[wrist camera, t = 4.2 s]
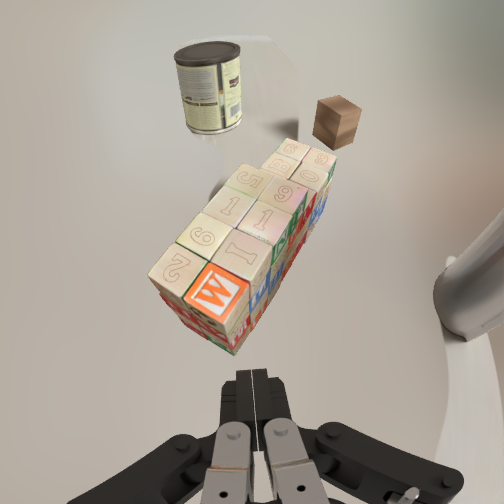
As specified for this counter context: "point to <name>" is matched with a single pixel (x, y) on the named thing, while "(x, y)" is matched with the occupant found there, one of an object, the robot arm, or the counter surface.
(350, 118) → the walnut block
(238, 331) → the stack of blocks
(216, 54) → the coffee can
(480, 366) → the counter surface
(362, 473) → the robot arm
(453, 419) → the counter surface
